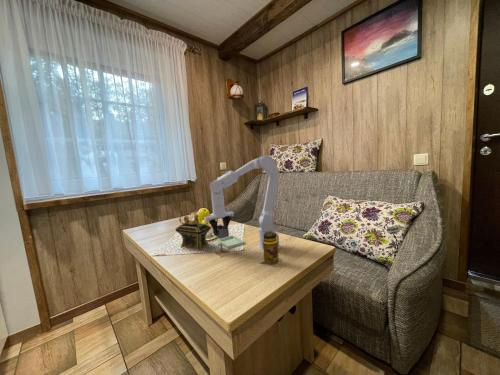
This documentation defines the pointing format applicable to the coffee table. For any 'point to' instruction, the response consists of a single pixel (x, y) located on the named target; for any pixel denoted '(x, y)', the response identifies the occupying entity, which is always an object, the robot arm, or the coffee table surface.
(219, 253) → the tan rectangular block
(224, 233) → the grey open box
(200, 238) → the decorative box
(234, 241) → the tray
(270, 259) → the condiment
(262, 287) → the coffee table surface
